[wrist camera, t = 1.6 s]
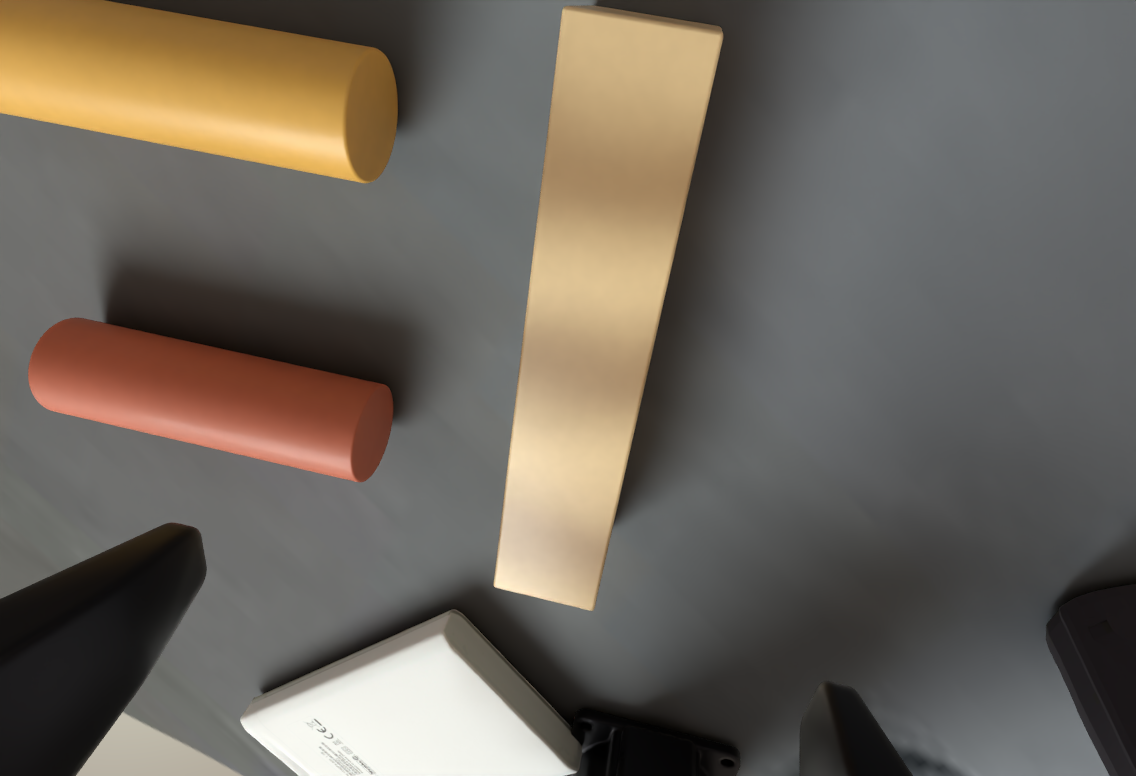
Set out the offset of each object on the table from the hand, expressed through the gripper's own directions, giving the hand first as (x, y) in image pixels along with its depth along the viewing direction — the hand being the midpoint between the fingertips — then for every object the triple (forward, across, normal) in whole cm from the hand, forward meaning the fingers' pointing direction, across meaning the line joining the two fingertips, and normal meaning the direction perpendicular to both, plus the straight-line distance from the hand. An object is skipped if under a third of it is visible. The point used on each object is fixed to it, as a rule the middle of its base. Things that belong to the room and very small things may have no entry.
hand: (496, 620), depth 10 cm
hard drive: (+11, +5, +20) cm, 23 cm away
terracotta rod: (+11, +11, +5) cm, 16 cm away
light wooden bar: (+11, 0, 0) cm, 11 cm away
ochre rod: (+11, +11, -4) cm, 16 cm away
